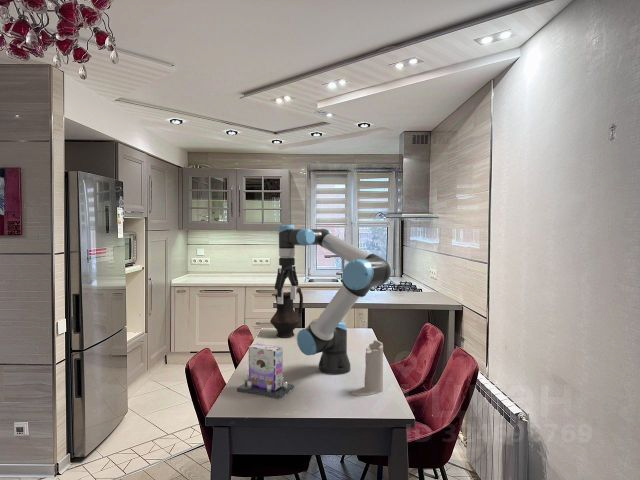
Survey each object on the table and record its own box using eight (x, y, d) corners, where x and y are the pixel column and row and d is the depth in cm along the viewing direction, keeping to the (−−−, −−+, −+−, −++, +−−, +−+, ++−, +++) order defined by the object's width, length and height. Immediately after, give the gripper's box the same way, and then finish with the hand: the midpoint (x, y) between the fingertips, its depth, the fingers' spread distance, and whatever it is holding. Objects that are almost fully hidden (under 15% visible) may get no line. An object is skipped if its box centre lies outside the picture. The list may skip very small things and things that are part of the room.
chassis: (293, 388, 176) (293, 377, 176) (280, 398, 165) (280, 387, 165) (252, 381, 184) (252, 371, 184) (237, 391, 173) (236, 380, 173)
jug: (275, 341, 251) (275, 290, 251) (266, 334, 268) (266, 287, 268) (308, 337, 260) (308, 288, 259) (297, 331, 277) (297, 285, 276)
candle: (348, 391, 173) (348, 342, 172) (375, 385, 179) (375, 338, 179) (358, 397, 166) (358, 347, 166) (386, 391, 173) (386, 342, 173)
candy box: (283, 386, 174) (283, 347, 173) (274, 391, 169) (274, 350, 168) (257, 380, 181) (257, 342, 181) (248, 385, 176) (248, 345, 176)
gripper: (291, 255, 215) (291, 297, 216) (266, 258, 192) (267, 305, 193) (304, 255, 212) (305, 298, 213) (281, 259, 189) (281, 306, 190)
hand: (287, 301), depth 203 cm, fingers open, 13 cm apart
